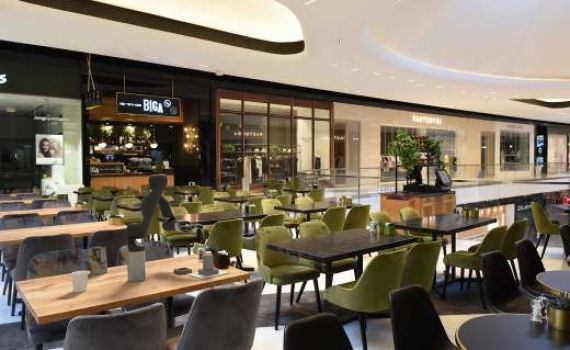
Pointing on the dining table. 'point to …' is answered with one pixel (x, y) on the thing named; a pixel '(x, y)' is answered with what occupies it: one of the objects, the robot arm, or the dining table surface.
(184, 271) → the holster
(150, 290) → the dining table surface
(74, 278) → the white cup
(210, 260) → the grey bottle
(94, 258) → the coffee box
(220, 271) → the port
